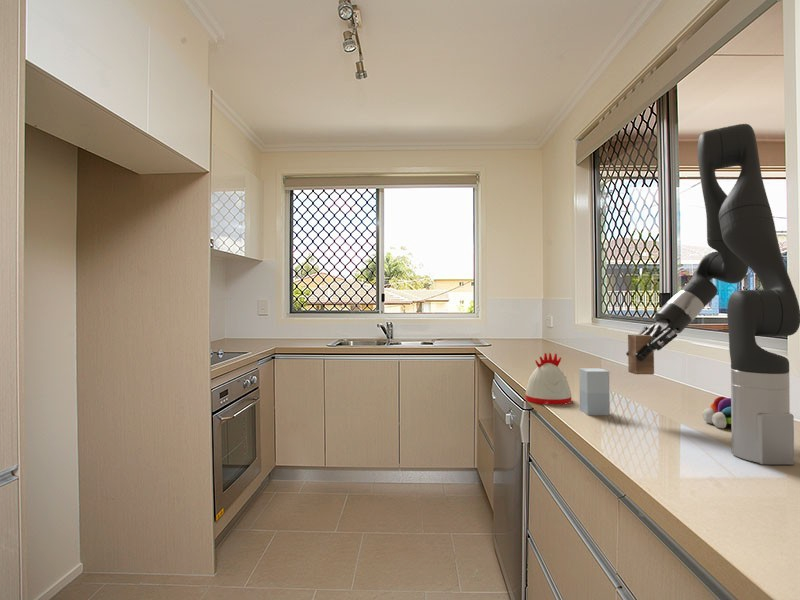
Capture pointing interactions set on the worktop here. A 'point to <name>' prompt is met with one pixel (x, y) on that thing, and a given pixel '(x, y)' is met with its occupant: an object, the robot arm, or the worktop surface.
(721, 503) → the worktop surface
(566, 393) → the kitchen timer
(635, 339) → the walnut post
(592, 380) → the tower top
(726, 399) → the multicoloured plush toy
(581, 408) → the tower base
